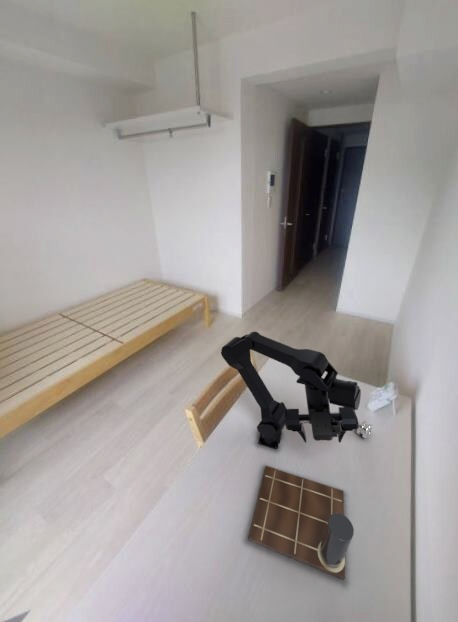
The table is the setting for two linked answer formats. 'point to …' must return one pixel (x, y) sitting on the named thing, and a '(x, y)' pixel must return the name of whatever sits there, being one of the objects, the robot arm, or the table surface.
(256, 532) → the board
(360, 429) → the metal grooved wheel
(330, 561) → the dark grey cylinder
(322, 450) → the table surface
